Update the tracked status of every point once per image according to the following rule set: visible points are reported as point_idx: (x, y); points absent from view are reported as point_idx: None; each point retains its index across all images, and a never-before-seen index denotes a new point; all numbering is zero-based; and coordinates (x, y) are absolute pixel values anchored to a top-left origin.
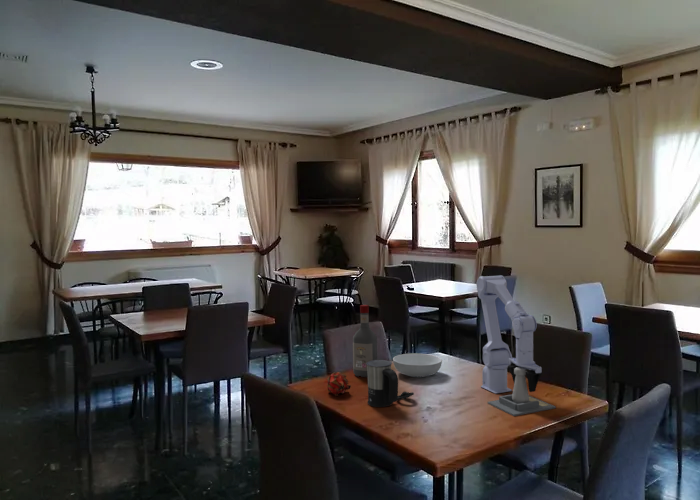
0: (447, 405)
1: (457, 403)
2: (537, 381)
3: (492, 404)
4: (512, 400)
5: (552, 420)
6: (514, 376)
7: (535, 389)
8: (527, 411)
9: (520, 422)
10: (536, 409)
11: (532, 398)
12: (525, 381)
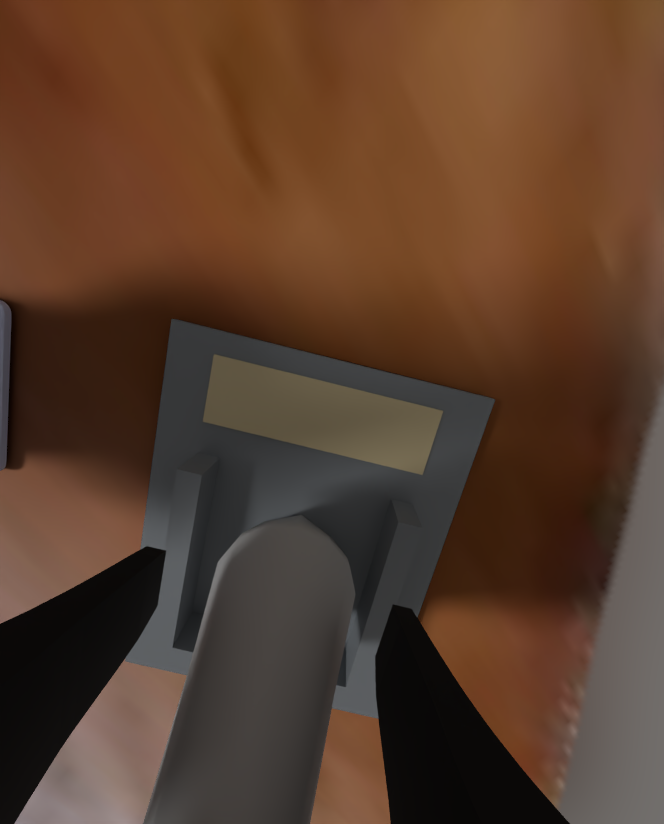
0: (40, 809)
1: None
2: (492, 745)
3: (178, 671)
4: (205, 534)
5: (582, 609)
6: (60, 742)
7: (421, 626)
8: None
9: None
10: (427, 556)
11: (263, 377)
12: (311, 767)
